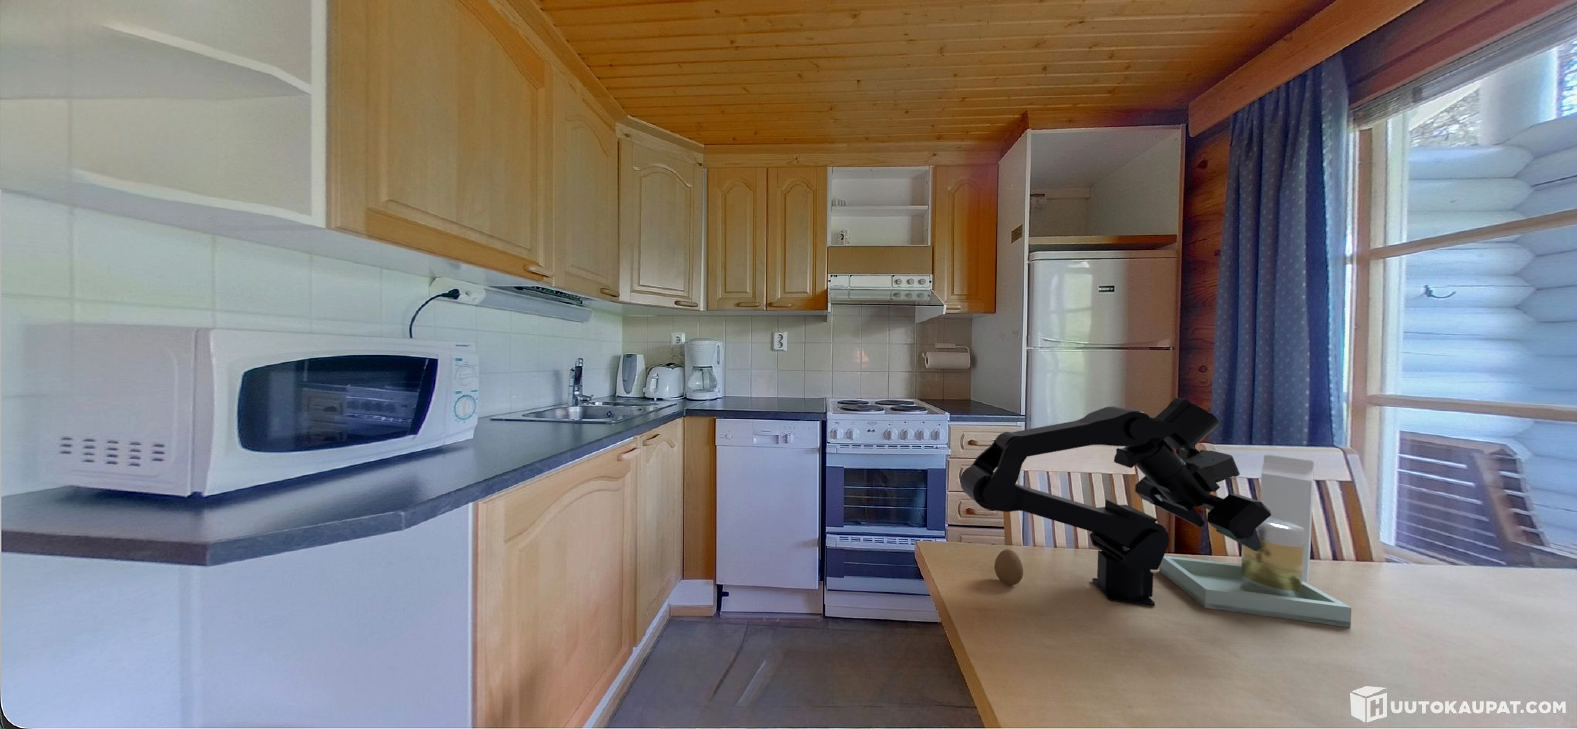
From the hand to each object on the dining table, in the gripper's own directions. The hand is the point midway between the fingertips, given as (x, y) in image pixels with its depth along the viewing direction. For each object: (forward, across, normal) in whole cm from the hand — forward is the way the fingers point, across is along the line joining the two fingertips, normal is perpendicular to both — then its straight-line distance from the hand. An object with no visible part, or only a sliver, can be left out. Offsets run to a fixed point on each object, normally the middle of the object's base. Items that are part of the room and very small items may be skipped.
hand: (1228, 536), depth 70 cm
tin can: (+12, 0, +2) cm, 12 cm away
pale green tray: (+10, +1, +5) cm, 11 cm away
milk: (+21, +9, -6) cm, 23 cm away
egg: (-17, +2, +32) cm, 37 cm away
